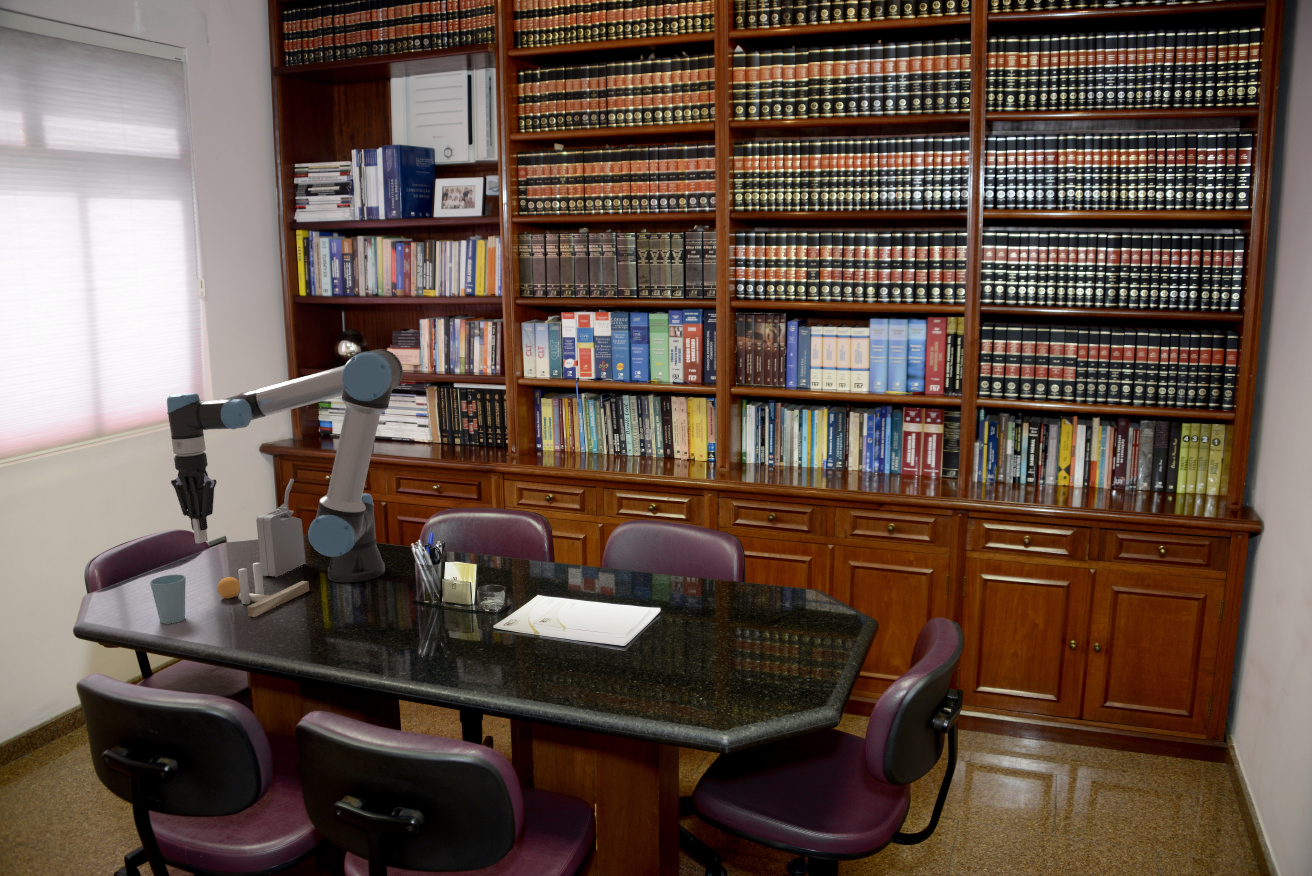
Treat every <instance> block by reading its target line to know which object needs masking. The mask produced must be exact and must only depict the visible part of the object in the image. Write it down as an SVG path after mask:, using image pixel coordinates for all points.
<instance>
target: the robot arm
mask: <svg viewBox="0 0 1312 876" xmlns="http://www.w3.org/2000/svg"><path fill="white" fill-rule="evenodd" d="M403 371H404V369H403V365H402V362H401V361H400V358H399V357H398V356H397V355H396V354H394V353H393V352H392V351H390V350H389V349H388V350H387V349H383V348H377V349H372V350H369V351H362V352H359V353H357V354H355V355H354V356H352V357H351V358H349V360H348V361H347V362H346V364H344V365H341V366H338V367H333V368H331V369H330V368H329V369H327V370H323V371H319V372H316V373H312V374H309V375H305V376H301V377H298V378H294V379H289V380H287V381H284V382H280V383H276V384H272V385H268V386H265V387H262V388H261V387H260V388H258V389H254V390H251V391H245V392H242V393H239V394H237V395H233V396H229V397H226V398H223V399H222V398H221V399H213V400H212V399H211V400H201V399H200V396H199V394H198V393H196V392H183V393H173V394H171V395H169V396H168V397H167V399H166V405H167V412H166V415H167V416H168V422H169V429H170V435H171V443H172V445H171V446H172V451H173V454H174V456H173V460H174V461H173V462H174V467H175V470H176V471H178V473H177V477H176V478H175V479H172V480H170V484H171V485H172V487H173V488H174V490H175V494H176V497H177V500H178V503H179V505H180V509H181V512H182V515H183V516H187V517H188V518H189V519H190V524H191V529H192V530H193V535H194V542H195V544H202V543H204V542H208V541H209V540H208V533H207V530H208V519H207V517H208V516H210V515H213V512H214V499H215V498H214V496H215V488H216V485H217V483H218V482H217V479H212V478H210V477H209V474H208V472H207V466H208V456H207V453H206V452H205V451H206V450H207V448H206V442H205V435H204V431H206V430H207V431H208V430H230V429H231V430H237V429H244V428H247V427H248V426H249V425H250V423H251V421H254V420H258V419H262V418H265V417H267V416H271V415H275V414H278V413H283V412H285V411H286V412H287V411H290V410H293V409H297V408H301V407H304V406H309V405H313V404H315V403H319V402H323V401H327V400H330V399H334V398H339V397H341V401H342V402H343V404H344V405H345V411H344V416H343V419H342V425H341V428H340V434H339V438H338V441H337V442H338V443H337V448H336V452H335V458H334V460H333V466H332V469H331V470H332V471H331V476H330V480H329V485H328V489H327V492H326V494H325V495H324V496H322V497H321V498H319V502H318V506H317V510H316V516H315V518H314V519H313V520H312V521H311V523H310V525H309V527H308V531H307V537H308V541H309V544H310V546H312V547H313V549H314V550H315V551H316V552H317V553H319V554H320V555H322V556H325V557H330V559H329V564H328V567H327V578H328V579H329V581H332V582H335V583H343V584H345V583H358V582H359V583H360V582H365V581H370V580H373V579H377V578H379V577H381V576H382V575H383V574H385V572H386V569H385V568H386V567H385V561H384V560H383V559H382V556H381V552H380V551H379V548H378V546H377V537H376V536H377V535H376V521H375V504H374V500H373V496H372V495H371V493H366V492H365V493H364V489H365V485H366V481H367V476H368V471H369V466H370V462H371V457H372V453H373V449H374V443H375V440H376V435H377V431H378V428H379V427H378V426H379V421H380V417H381V415H382V413H383V412H386V411H387V410H388V409H389V405H390V401H391V396H392V392H393V390H394V389H396V388H397V387H398V386H399V384H400V382H401V381H402V378H403V375H404V374H403V373H404V372H403Z"/></svg>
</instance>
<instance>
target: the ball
mask: <svg viewBox="0 0 1312 876" xmlns="http://www.w3.org/2000/svg"><path fill="white" fill-rule="evenodd" d="M217 584H218V585H217V588H216V589H217V592H218V593H217V594H219V595H220V597H222V598H224V599H231V598H232V599H233V598H235V597H237V595H239V594H240V582H239V579H237V578H236V577H233V576H227V577H224V578H222V579H221V580H220V581H219V582H218V583H217Z"/></svg>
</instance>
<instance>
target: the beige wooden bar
mask: <svg viewBox="0 0 1312 876" xmlns="http://www.w3.org/2000/svg"><path fill="white" fill-rule="evenodd" d="M309 584H310V583H309V581H307V580H306V581H305V580H301V581H300V582H297V583H295V584H293V585H291V586H288V587H287V588H284V589H282V590H280V591H278V592H276V593H274V594H271V596H269V597H267V598H265V599H262V600H260V601H258V602H253V603H252V604H250V605H247V616H248V617H253V618H255V617H258V616H260V615H262V614H264V613H266V612H268V611H271V610H273V609H274V608H277V607H279V606H280V604H281V605H284V604H285V603H287V602H289V601H290V600H293V599H295V598H297V597H299V596H301V595H303V594H305V593H307V592H309V591H310V585H309ZM276 606H277V607H276Z"/></svg>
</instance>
